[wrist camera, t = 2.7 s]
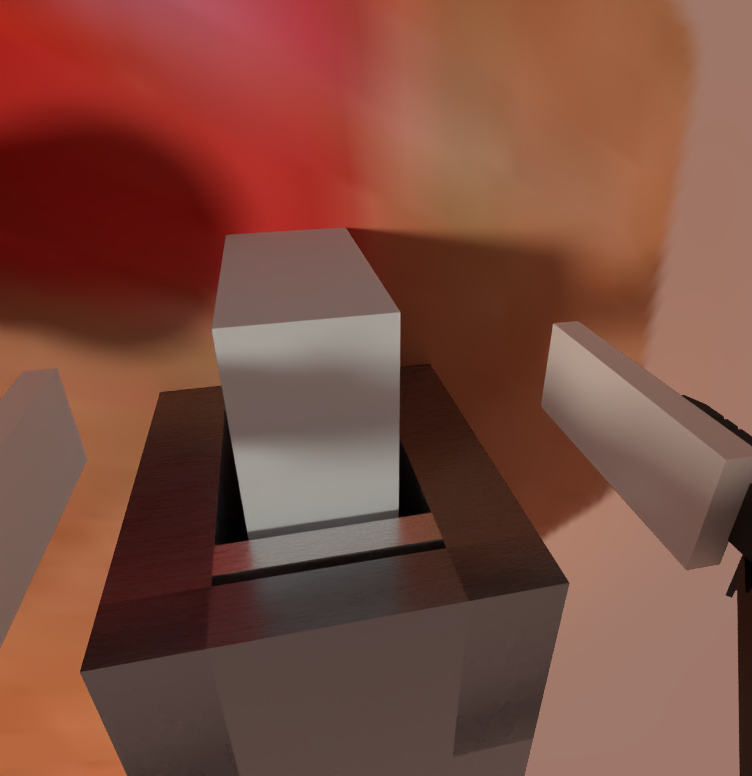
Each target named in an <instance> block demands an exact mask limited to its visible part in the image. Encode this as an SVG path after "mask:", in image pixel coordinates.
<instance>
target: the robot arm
mask: <svg viewBox="0 0 752 776" xmlns="http://www.w3.org/2000/svg"><path fill="white" fill-rule="evenodd" d="M541 408H542V409H543V410H544V411H545V412H546V413H547V414H548V416H549V417H550V418H551V419H552V420H553V421H554V422H555V423H556V424H557V426H558V427H559V428H560V429H561V430H562V431H563V432H564V433H565V435H566V436H567V437H568V438H569V439H570V440H571V441H572V442H573V444H574V445H575V446H576V447H577V448H578V449H579V450H580V451H581V453H582V454H583V455H584V456H585V457H586V458H587V459H588V460H589V462H590V463H591V464H592V465H593V466H594V467H595V468H596V469H597V470H598V472H599V473H600V474H601V475H602V476H603V477H604V478H605V479H606V481H607V482H608V483H609V484H610V485H611V486H612V487H613V488H614V490H615V491H616V492H617V493H618V494H619V495H620V496H621V497H622V499H623V500H624V501H625V502H626V503H627V504H628V505H629V506H630V507H631V509H632V510H633V511H634V512H635V513H636V514H637V515H638V516H639V518H640V519H641V520H642V521H643V522H644V523H645V524H646V525H647V526H648V527H649V529H650V530H651V531H652V532H653V533H654V534H655V535H656V537H657V538H658V539H659V540H660V541H661V542H662V543H663V545H664V546H665V547H666V548H667V549H668V550H669V551H670V552H671V553H672V555H673V556H674V557H675V558H676V559H677V560H678V561H679V562H680V564H681V565H682V566H683V567H684V568H685V569H686V570H690V569H696V568H702V567H707V566H713V565H718V564H720V562H721V560H722V557H723V555H724V552H725V550H726V547H727V544H728V542H730V543H731V544H732V545H733V546H734V547H735V548H737V550H738V551H740V552H741V553H742V554H743V555H742V557H741V560H740V562H739V564H738V567H737V569H736V572H735V574H734V576H733V579H732V581H731V583H730V586H729V588H728V591H727V593H726V596H729V597H732V596H733V594H734V592H735V591H736V590H737V604H738V676H739V677H738V678H739V757H740V776H752V437H751V436H750V435H749V434H748V433H746V432H745V431H743V430H742V429H738V426H736V425H735V424H733V423H732V422H731V421H729V420H728V419H725V420H724V417H723V416H722V415H720V414H719V413H718V412H716V411H715V410H713V409H712V408H711V407H709V406H708V405H706V404H704V403H701V402H699V401H697V400H694V399H692V398H690V397H687V396H685V395H680V394H679V393H677V392H676V391H674V390H673V389H672V388H670V387H669V386H667V385H666V384H665V383H663V382H662V381H661V380H659V379H658V378H656V377H655V376H654V375H652V374H651V373H649V372H648V371H647V370H645V369H644V368H643V367H641V366H640V365H638V364H637V363H636V362H634V361H633V360H631V359H630V358H629V357H627V356H626V355H625V354H623V353H622V352H620V351H619V350H618V349H616V348H615V347H614V346H612V345H611V344H609V343H608V342H607V341H605V340H604V339H602V338H601V337H600V336H598V335H597V334H596V333H594V332H593V331H591V330H590V329H589V328H587V327H586V326H584V325H583V324H582V323H580V322H579V321H573V322H562V323H553V329H552V335H551V342H550V349H549V355H548V362H547V368H546V375H545V382H544V388H543V395H542V401H541ZM86 461H87V457H86V454H85V451H84V448H83V445H82V442H81V439H80V436H79V433H78V430H77V427H76V424H75V421H74V418H73V415H72V412H71V409H70V406H69V403H68V400H67V397H66V394H65V391H64V388H63V385H62V382H61V379H60V376H59V373H58V370H57V368H56V369H45V370H34V371H23V372H22V374H21V375H20V376H19V377H18V379H17V380H16V381H15V382H14V383H13V385H12V386H11V387H10V388H9V389H8V391H7V392H6V393H5V394H4V395H3V397H2V398H1V399H0V647H1V645H2V643H3V641H4V639H5V637H6V634H7V632H8V630H9V628H10V626H11V624H12V621H13V619H14V617H15V615H16V613H17V611H18V608H19V606H20V604H21V602H22V600H23V598H24V595H25V593H26V591H27V589H28V587H29V585H30V582H31V580H32V578H33V576H34V574H35V572H36V569H37V567H38V565H39V563H40V561H41V559H42V556H43V554H44V552H45V550H46V548H47V546H48V543H49V541H50V539H51V537H52V535H53V533H54V530H55V528H56V526H57V524H58V522H59V520H60V517H61V515H62V513H63V511H64V509H65V507H66V504H67V502H68V500H69V498H70V496H71V494H72V491H73V489H74V487H75V485H76V483H77V481H78V478H79V476H80V474H81V472H82V470H83V468H84V465H85V463H86Z"/></svg>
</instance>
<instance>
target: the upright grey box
mask: <svg viewBox="0 0 752 776" xmlns="http://www.w3.org/2000/svg"><path fill="white" fill-rule="evenodd" d="M400 315H401V312H400V311H399V309H398V308H397V306H396V304H395V303H394V301H393V300H392V298H391V297H390V295H389V294H388V292H387V291H386V289H385V287H384V286H383V284H382V283H381V281H380V280H379V278H378V277H377V275H376V274H375V272H374V270H373V269H372V267H371V266H370V264H369V263H368V261H367V260H366V258H365V257H364V255H363V253H362V252H361V250H360V249H359V247H358V246H357V244H356V243H355V241H354V240H353V238H352V236H351V235H350V233H349V232H348V230H347V229H346V228H330V229H313V230H297V231H280V232H264V233H248V234H231V235H226V238H225V245H224V251H223V258H222V264H221V271H220V278H219V284H218V291H217V297H216V304H215V310H214V317H213V323H212V334H213V339H214V345H215V351H216V356H217V362H218V368H219V374H220V379H221V385H222V391H223V396H224V402H225V408H226V413H227V419H228V425H229V431H230V436H231V442H232V448H233V453H234V459H235V465H236V470H237V476H238V482H239V488H240V493H241V499H242V505H243V510H244V516H245V522H246V527H247V533H248V539H249V540H256V539H262V538H269V537H275V536H282V535H288V534H295V533H302V532H308V531H315V530H321V529H328V528H334V527H341V526H348V525H354V524H361V523H367V522H374V521H380V520H387V519H394V518H399V419H400Z"/></svg>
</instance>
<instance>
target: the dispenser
mask: <svg viewBox="0 0 752 776" xmlns="http://www.w3.org/2000/svg"><path fill="white" fill-rule="evenodd" d="M568 587H569V582H568V580H567V578H566V577H565V575H564V574H563V572H562V571H561V569H560V568H559V566H558V564H557V563H556V561H555V560H554V558H553V557H552V555H551V553H550V552H549V550H548V549H547V547H546V545H545V544H544V542H543V541H542V539H541V538H540V536H539V534H538V533H537V531H536V530H535V528H534V527H533V525H532V523H531V522H530V520H529V519H528V517H527V516H526V514H525V512H524V511H523V509H522V508H521V506H520V505H519V503H518V501H517V500H516V498H515V497H514V495H513V494H512V492H511V490H510V489H509V487H508V486H507V484H506V483H505V481H504V479H503V478H502V476H501V475H500V473H499V472H498V470H497V468H496V467H495V465H494V464H493V462H492V461H491V459H490V457H489V456H488V454H487V453H486V451H485V450H484V448H483V446H482V445H481V443H480V442H479V440H478V439H477V437H476V435H475V434H474V432H473V431H472V429H471V428H470V426H469V424H468V423H467V421H466V420H465V418H464V417H463V415H462V413H461V412H460V410H459V409H458V407H457V406H456V404H455V402H454V401H453V399H452V398H451V396H450V395H449V393H448V391H447V390H446V388H445V387H444V385H443V384H442V382H441V380H440V379H439V377H438V376H437V374H436V373H435V371H434V369H433V368H432V366H431V365H430V364H427V365H418V366H408V367H400V419H399V518H394V519H387V520H380V521H374V522H367V523H361V524H354V525H348V526H341V527H334V528H328V529H321V530H315V531H308V532H302V533H295V534H288V535H282V536H275V537H269V538H262V539H256V540H249V539H248V533H247V527H246V522H245V516H244V510H243V505H242V499H241V493H240V488H239V482H238V476H237V470H236V465H235V459H234V453H233V448H232V442H231V436H230V431H229V425H228V419H227V413H226V408H225V402H224V396H223V391H222V386H218V387H209V388H199V389H190V390H180V391H171V392H161V393H160V394H159V398H158V401H157V405H156V408H155V412H154V415H153V419H152V422H151V426H150V429H149V433H148V436H147V440H146V443H145V447H144V450H143V454H142V457H141V461H140V464H139V468H138V471H137V475H136V478H135V481H134V485H133V488H132V492H131V495H130V499H129V502H128V506H127V509H126V513H125V516H124V520H123V523H122V527H121V530H120V534H119V537H118V541H117V544H116V548H115V551H114V555H113V558H112V562H111V565H110V569H109V572H108V576H107V579H106V583H105V586H104V590H103V593H102V597H101V600H100V604H99V607H98V611H97V614H96V618H95V621H94V625H93V628H92V632H91V635H90V639H89V642H88V646H87V649H86V653H85V656H84V660H83V663H82V667H81V670H80V673H81V676H82V678H83V680H84V682H85V684H86V686H87V689H88V691H89V693H90V695H91V697H92V700H93V702H94V704H95V706H96V708H97V711H98V713H99V715H100V717H101V719H102V721H103V724H104V726H105V728H106V730H107V732H108V735H109V737H110V739H111V741H112V743H113V746H114V748H115V750H116V752H117V754H118V756H119V759H120V761H121V763H122V765H123V767H124V770H125V772H126V774H127V776H524V775H525V771H526V766H527V762H528V758H529V754H530V749H531V745H532V741H533V737H534V732H535V728H536V724H537V719H538V715H539V710H540V707H541V702H542V698H543V693H544V689H545V685H546V681H547V676H548V672H549V668H550V663H551V659H552V655H553V651H554V646H555V642H556V638H557V634H558V629H559V625H560V621H561V617H562V612H563V608H564V604H565V599H566V595H567V590H568Z"/></svg>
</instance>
